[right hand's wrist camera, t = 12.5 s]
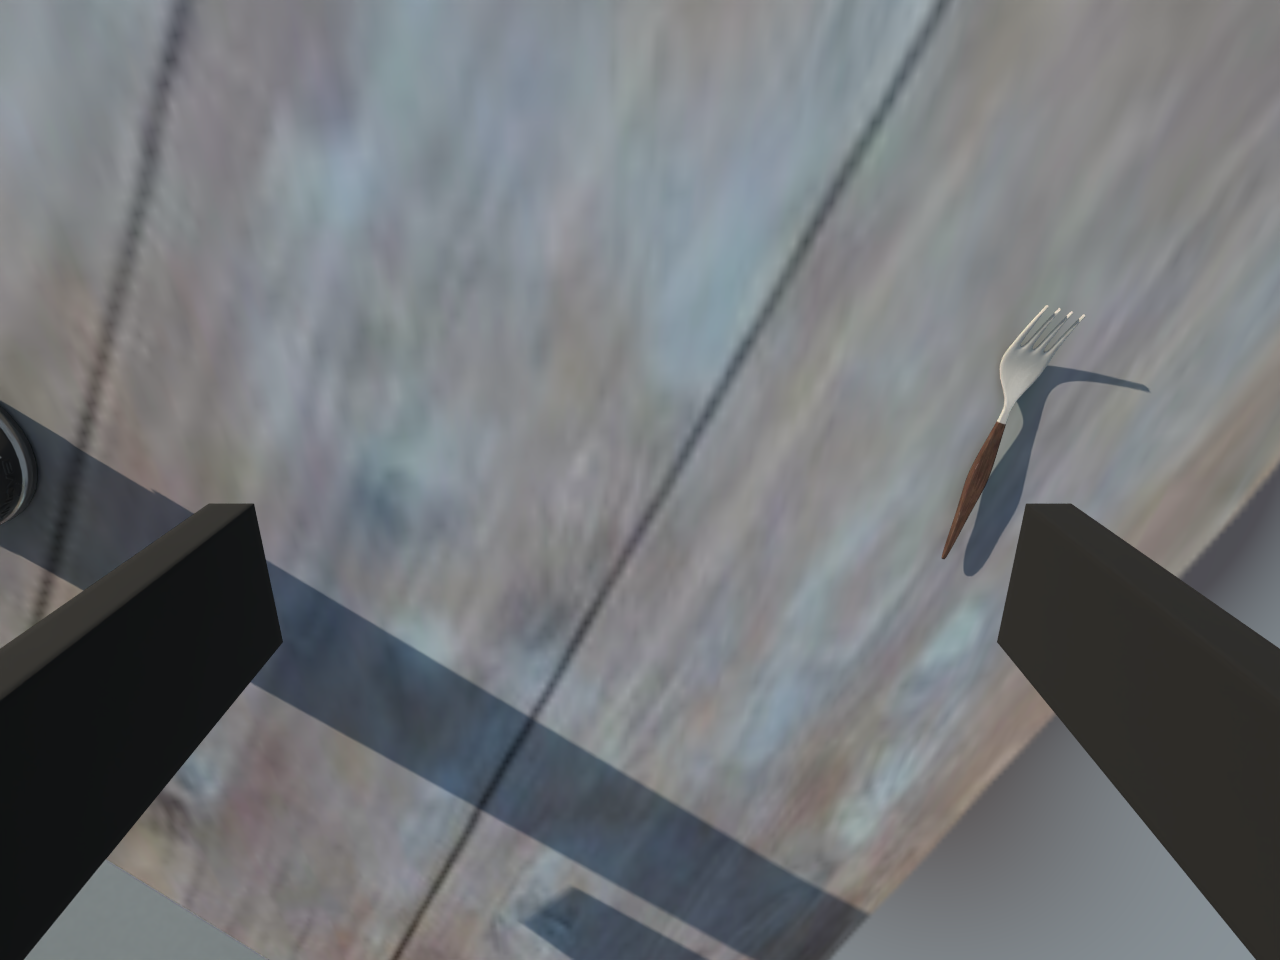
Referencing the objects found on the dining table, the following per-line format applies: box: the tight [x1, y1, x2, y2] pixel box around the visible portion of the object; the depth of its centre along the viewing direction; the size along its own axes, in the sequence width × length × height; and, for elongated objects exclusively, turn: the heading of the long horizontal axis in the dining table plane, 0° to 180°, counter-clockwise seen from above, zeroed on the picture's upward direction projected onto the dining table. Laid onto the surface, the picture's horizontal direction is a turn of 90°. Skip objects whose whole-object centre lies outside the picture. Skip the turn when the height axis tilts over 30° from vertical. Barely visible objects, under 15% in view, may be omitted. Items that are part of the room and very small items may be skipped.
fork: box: [942, 305, 1085, 559], centre depth 42 cm, size 3×16×2 cm, turn 167°
